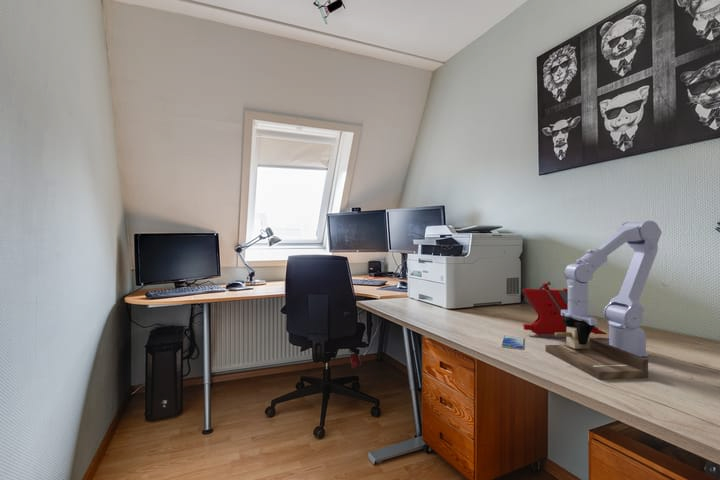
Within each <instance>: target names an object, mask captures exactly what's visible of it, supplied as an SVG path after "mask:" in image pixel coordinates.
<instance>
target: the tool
mask: <svg viewBox="0 0 720 480" xmlns="http://www.w3.org/2000/svg"><path fill="white" fill-rule="evenodd" d="M551 285H552V283H551V281H547V282H544V283H542V284H541V286H539V287H538V288H523V289H522V292H523V294H524V296H525V297H526V299H527V300H528V302H529V303H530V305H531V306H532V308H533V310H534V312H535V313H536V314H537V318H536V319H535V320H534V321H533V322H531V323H523V325H522V326H523V330H524V331H531V332H532V333H534V334H535V335H536V336H538V337H539V338H554V339H556V338H558V339H560V338H561V339H566V337H555V333H562V332H566V327H565V325H564V323H563V321H562V318H566V316H562V315H561V310H568V288H563V289H553V288H550V287H549V286H551ZM591 333H592V334H594V335H608V333H607V332H605V331H603V330H602V329H601V330H600V329H599V327H597V325H595V327H594V328H593V329H592V331H591ZM591 333H590V334H591Z"/></svg>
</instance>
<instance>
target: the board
mask: <svg viewBox="0 0 720 480" xmlns="http://www.w3.org/2000/svg"><path fill="white" fill-rule="evenodd" d="M545 352H547V353H549V354H551V355H552V356H554V357H556V358H558V359H560V360H561V361H564V362H565V363H568V364H570V366H573V367H575V368H577V369H579V370H580V371H583V372H584V373H585V374H588V375H589V376H591V377H593V378H595V379H598V380H623V379H625V380H626V379H648V378H649V359H648V358H646V357H644V356H637V355H635V354H632V353H630V352H627V351H624V350H622V349H619V348H617V347H614V346H611V345H609V343H606V342H603V341H600V340H598V339H596V338H593V337H590V348H582V349H574V348H572V347H570V346H568V345H566V344H545Z"/></svg>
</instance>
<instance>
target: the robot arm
mask: <svg viewBox="0 0 720 480" xmlns="http://www.w3.org/2000/svg"><path fill="white" fill-rule="evenodd" d="M662 234H663V233H662V230H661V228H660V227H659V225H658V224H657V222H656V221H653V220H643V221H625V222H623V223H622V224H620V226H617V227H616V229H615V232H614V233H613V234H612V235H611V236H610V237H608V238H607V240H605V241H604V242H603V243H602V244H601V245H600V246H599V247H598V248H595V247H594V248H590V249H587V250H586V251H585V252H586V253H585V254H584V255H582V256H581V257H580V258H578V259H576V260H575V263H570V264H568V265H567V266H566V267H565V269H564V271H563V272H562V273H563V277H564V278H565V279H566V284H567V289H568V310H561V315H562V316H566V318H562V321H563V323H564V325H565V327H576V329H577V333H578V341H579V344H580V345H586V344H587V341H588V338H589V335H591V331H592V329H593V328H594V327H595V326H598V318H596V317H593V316H592V315H589V281H591V280H593V277H594V273H595V272H596V271H597V270H599V269H600V268H601V267H602V266H603V265H604V264H606V263H607V262H608V256H609V255H611V254H612V253H613V252H615V251H616V250H617V249H619V248H620V247H622V246H623V245H624V244H626V243H627V245H628V246H629V247H630V248H632V250H633V251H634V253H633V256H632V259H631V262H630V264H629V267H628V268H627V272H626V274H625V276H624V278H623V279H624V280H623V282H622V285H621V287H620V290H619V291H618V292H619V293H618V295H616V296H614V297H612V298H611V299H610V300H609V303H608V304H607V305H606V306H605V307H604V309H603V316H604V319H605V320H606V321H607V324H608V325H609V327H608V332H609V333H608V337H609V338H608V344H609V345H611V346H614V347H617V348H619V349H622V350H624V351H627V352H630V353H632V354H635V355H637V356H640V357H649V354H647V337H646V333H645V331H644V329H643V328H642V327H640V326H641V325H642V323H643V321H644V316H643V315H644V311H645V307H644V306H643V305H642V304H641V302H640V298H641V296H642V293H643V291H644V288H645V286H646V283H647V279H648V278H649V275H650V272H651V270H652V266H653V264H654V261H655V259H656V256H657V253H658V245H659V244H658V242H659V240H660V239H661V235H662Z"/></svg>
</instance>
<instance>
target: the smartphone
mask: <svg viewBox="0 0 720 480" xmlns="http://www.w3.org/2000/svg"><path fill="white" fill-rule="evenodd" d="M500 346H501V348H506V349H511V350H512V349H513V350H521V351H524V350H525V338H524V337H519V336H513V335H512V336H511V335H504V336H503V338H502V341H501V345H500Z"/></svg>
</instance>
